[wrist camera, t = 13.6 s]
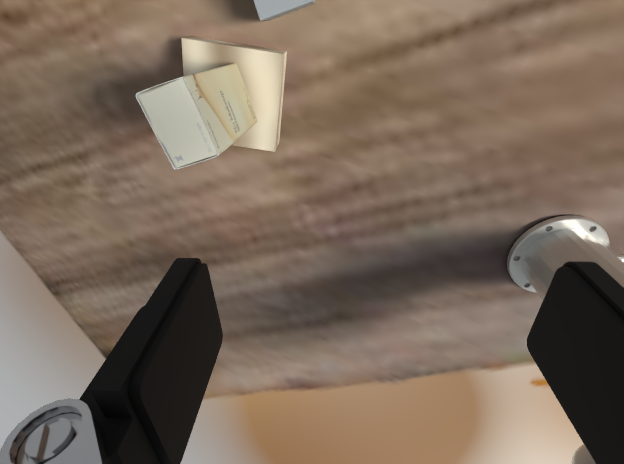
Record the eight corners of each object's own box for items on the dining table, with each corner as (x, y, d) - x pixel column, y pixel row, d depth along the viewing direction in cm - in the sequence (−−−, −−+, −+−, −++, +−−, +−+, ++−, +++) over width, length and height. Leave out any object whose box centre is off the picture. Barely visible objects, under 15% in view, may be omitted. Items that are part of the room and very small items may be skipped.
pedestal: (287, 50, 38) (282, 53, 34) (279, 141, 43) (274, 151, 39) (195, 36, 37) (181, 38, 34) (198, 128, 43) (187, 138, 39)
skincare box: (259, 121, 37) (223, 158, 27) (222, 132, 38) (174, 173, 28) (235, 59, 34) (184, 74, 24) (196, 73, 36) (132, 94, 25)
